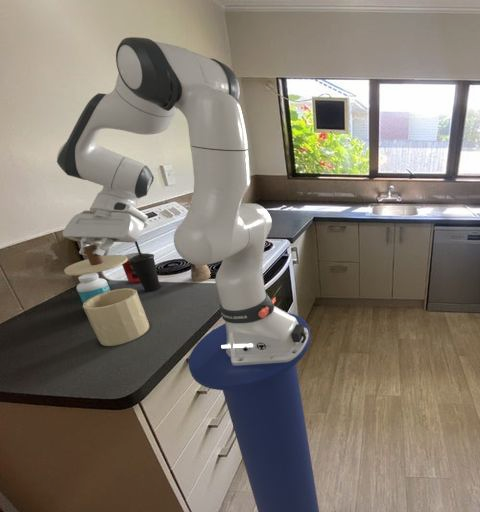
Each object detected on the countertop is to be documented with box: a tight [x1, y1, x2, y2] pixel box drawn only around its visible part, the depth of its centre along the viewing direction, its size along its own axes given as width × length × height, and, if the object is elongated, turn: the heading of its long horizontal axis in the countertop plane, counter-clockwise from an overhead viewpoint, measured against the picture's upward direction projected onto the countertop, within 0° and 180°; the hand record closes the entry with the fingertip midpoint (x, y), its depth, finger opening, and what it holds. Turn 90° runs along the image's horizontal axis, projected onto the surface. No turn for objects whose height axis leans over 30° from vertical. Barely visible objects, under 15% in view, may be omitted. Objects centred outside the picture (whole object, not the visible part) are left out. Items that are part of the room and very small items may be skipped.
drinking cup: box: [129, 240, 161, 293], centre depth 110 cm, size 8×8×20 cm
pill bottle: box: [76, 272, 112, 304], centre depth 97 cm, size 8×7×14 cm
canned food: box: [121, 252, 143, 284], centre depth 120 cm, size 8×8×11 cm
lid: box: [63, 244, 128, 276], centre depth 79 cm, size 13×13×6 cm
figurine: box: [188, 263, 212, 283], centre depth 121 cm, size 7×7×12 cm
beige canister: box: [82, 287, 150, 347], centre depth 85 cm, size 12×12×12 cm
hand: (90, 254), depth 78 cm, fingers closed on lid, 2 cm apart
